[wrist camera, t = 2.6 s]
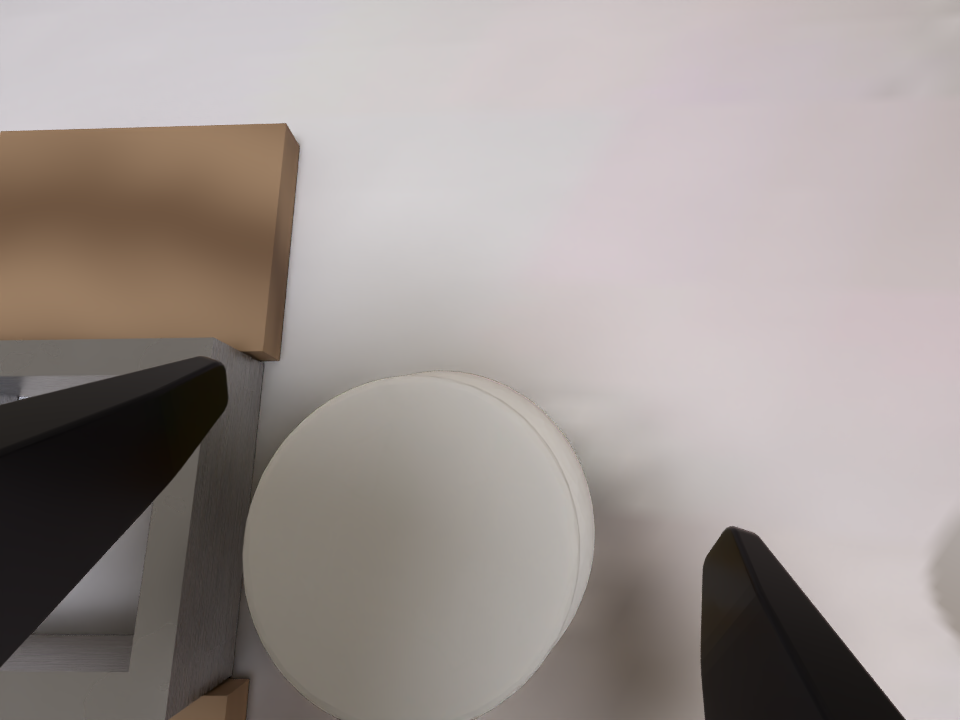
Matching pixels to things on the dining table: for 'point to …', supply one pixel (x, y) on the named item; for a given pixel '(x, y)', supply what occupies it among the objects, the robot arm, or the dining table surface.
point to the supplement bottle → (418, 548)
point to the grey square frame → (148, 550)
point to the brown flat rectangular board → (150, 248)
